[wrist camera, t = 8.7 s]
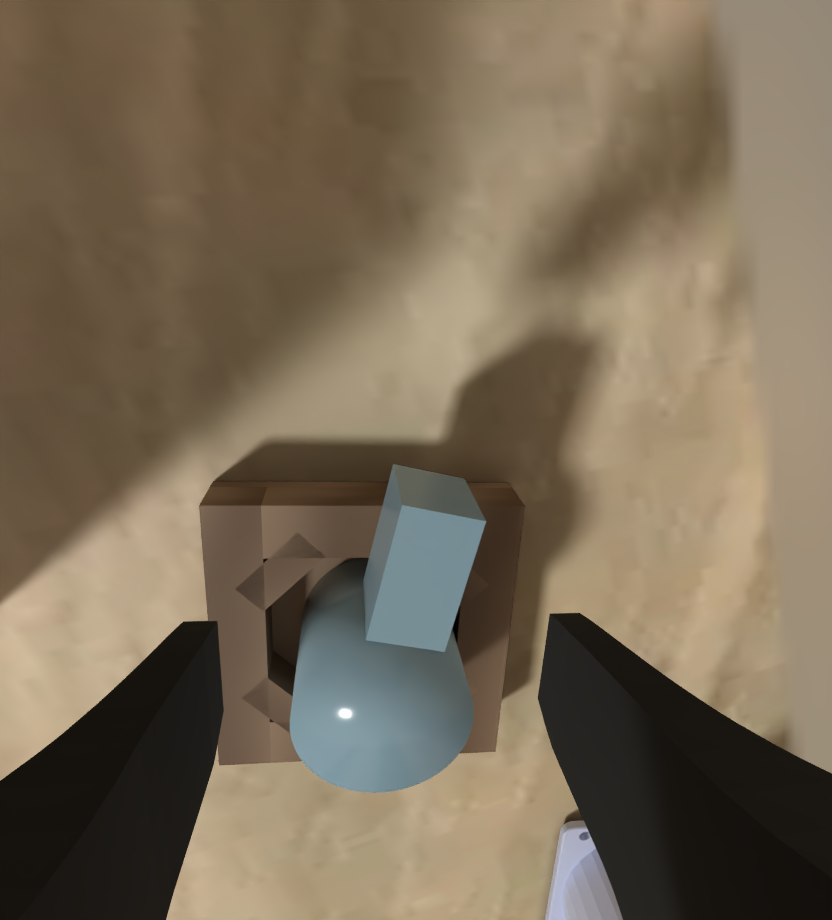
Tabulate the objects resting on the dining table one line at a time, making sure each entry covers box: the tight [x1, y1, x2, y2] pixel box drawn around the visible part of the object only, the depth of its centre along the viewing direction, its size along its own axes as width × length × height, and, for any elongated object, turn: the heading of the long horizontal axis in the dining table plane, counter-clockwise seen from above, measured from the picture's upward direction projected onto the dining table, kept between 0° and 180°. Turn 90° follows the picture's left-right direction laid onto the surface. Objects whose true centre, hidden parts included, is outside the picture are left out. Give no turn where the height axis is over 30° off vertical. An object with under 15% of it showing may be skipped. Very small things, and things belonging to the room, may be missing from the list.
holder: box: [199, 481, 525, 765], centre depth 21 cm, size 10×10×2 cm
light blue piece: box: [290, 464, 486, 793], centre depth 19 cm, size 9×5×5 cm, turn 166°
